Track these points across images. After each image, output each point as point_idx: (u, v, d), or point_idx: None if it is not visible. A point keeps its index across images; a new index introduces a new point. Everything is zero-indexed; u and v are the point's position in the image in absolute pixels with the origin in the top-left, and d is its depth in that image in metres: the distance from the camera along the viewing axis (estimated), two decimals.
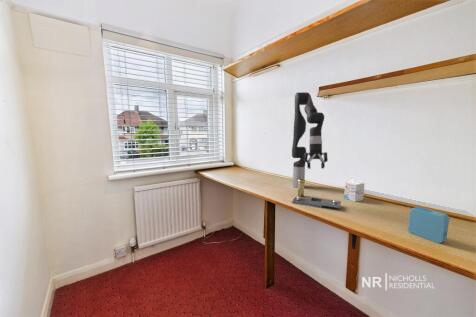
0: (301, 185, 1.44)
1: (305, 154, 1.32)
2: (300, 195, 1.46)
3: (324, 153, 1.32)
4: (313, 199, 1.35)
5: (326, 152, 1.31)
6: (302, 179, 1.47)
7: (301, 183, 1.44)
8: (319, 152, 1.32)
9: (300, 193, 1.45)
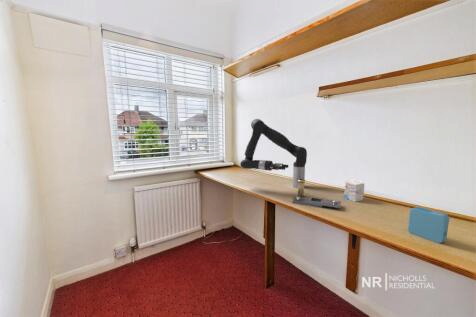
0: (301, 185, 1.44)
1: None
2: (300, 195, 1.46)
3: None
4: (313, 199, 1.35)
5: (270, 169, 1.49)
6: (302, 179, 1.47)
7: (301, 183, 1.44)
8: None
9: (300, 193, 1.45)
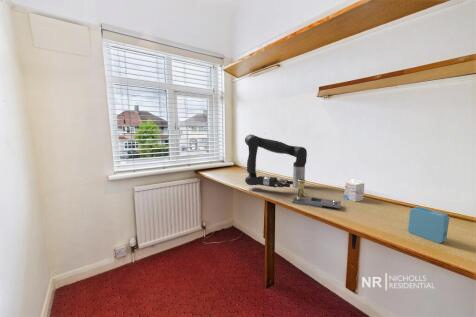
0: (301, 185, 1.44)
1: None
2: (300, 195, 1.46)
3: None
4: (313, 199, 1.35)
5: (274, 186, 1.49)
6: (302, 179, 1.47)
7: (301, 183, 1.44)
8: None
9: (300, 193, 1.45)
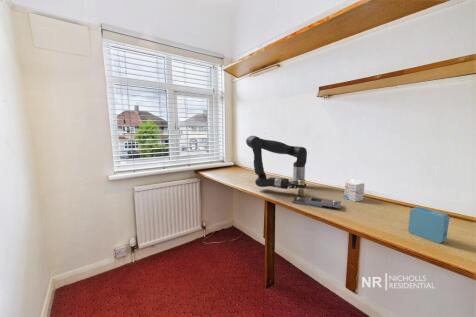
0: None
1: None
2: (300, 195, 1.46)
3: None
4: (313, 199, 1.35)
5: None
6: (302, 179, 1.47)
7: (301, 183, 1.44)
8: None
9: (300, 193, 1.45)
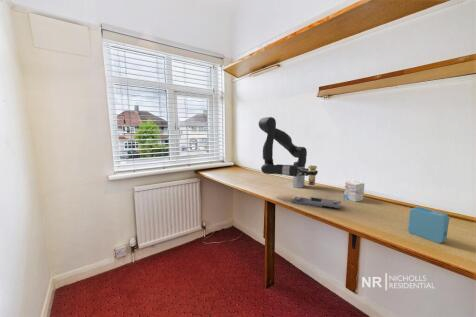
0: None
1: None
2: (311, 183, 1.32)
3: None
4: (313, 199, 1.35)
5: (298, 175, 1.30)
6: None
7: (312, 170, 1.30)
8: None
9: (311, 181, 1.31)
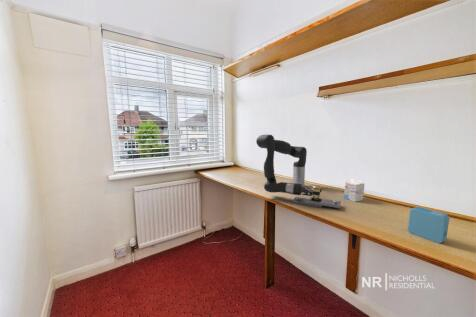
0: None
1: None
2: None
3: None
4: None
5: None
6: (317, 185, 1.31)
7: (316, 190, 1.28)
8: None
9: None
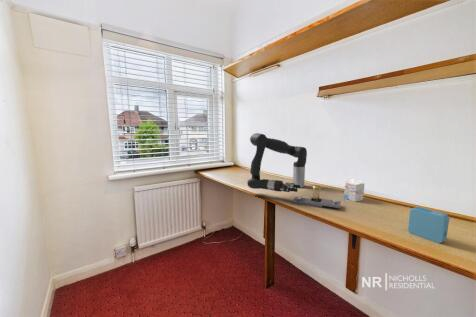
0: (316, 192, 1.28)
1: None
2: None
3: None
4: None
5: (280, 190, 1.35)
6: (317, 185, 1.31)
7: (316, 190, 1.28)
8: None
9: None
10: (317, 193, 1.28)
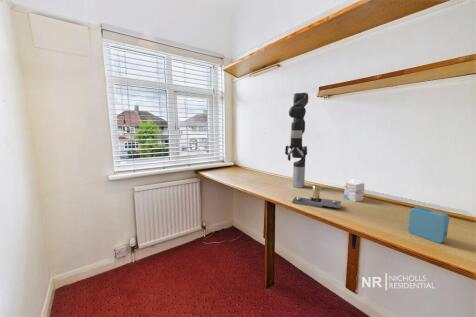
0: (316, 192, 1.28)
1: None
2: None
3: None
4: None
5: (305, 146, 1.34)
6: (317, 185, 1.31)
7: (316, 190, 1.28)
8: (298, 146, 1.36)
9: None
10: (317, 193, 1.28)
